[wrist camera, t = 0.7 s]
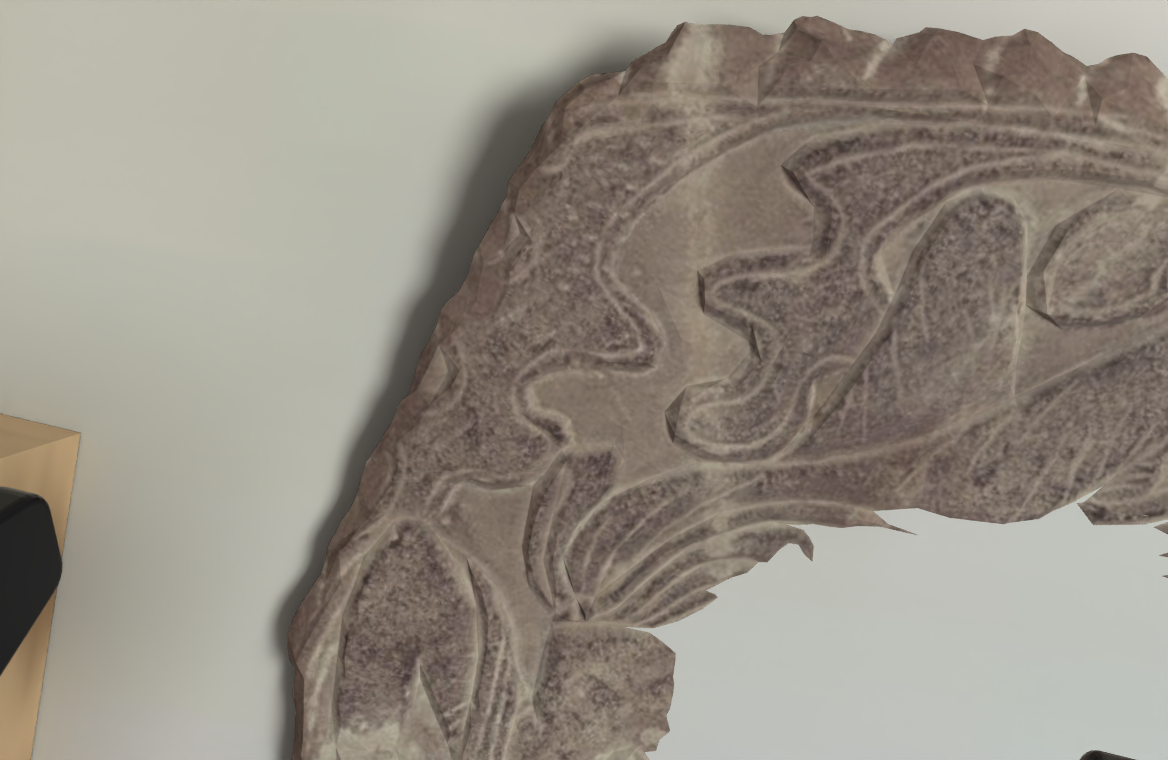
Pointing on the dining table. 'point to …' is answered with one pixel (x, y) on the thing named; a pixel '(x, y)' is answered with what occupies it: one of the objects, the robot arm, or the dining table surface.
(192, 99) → the dining table surface
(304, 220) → the dining table surface
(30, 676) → the rail
